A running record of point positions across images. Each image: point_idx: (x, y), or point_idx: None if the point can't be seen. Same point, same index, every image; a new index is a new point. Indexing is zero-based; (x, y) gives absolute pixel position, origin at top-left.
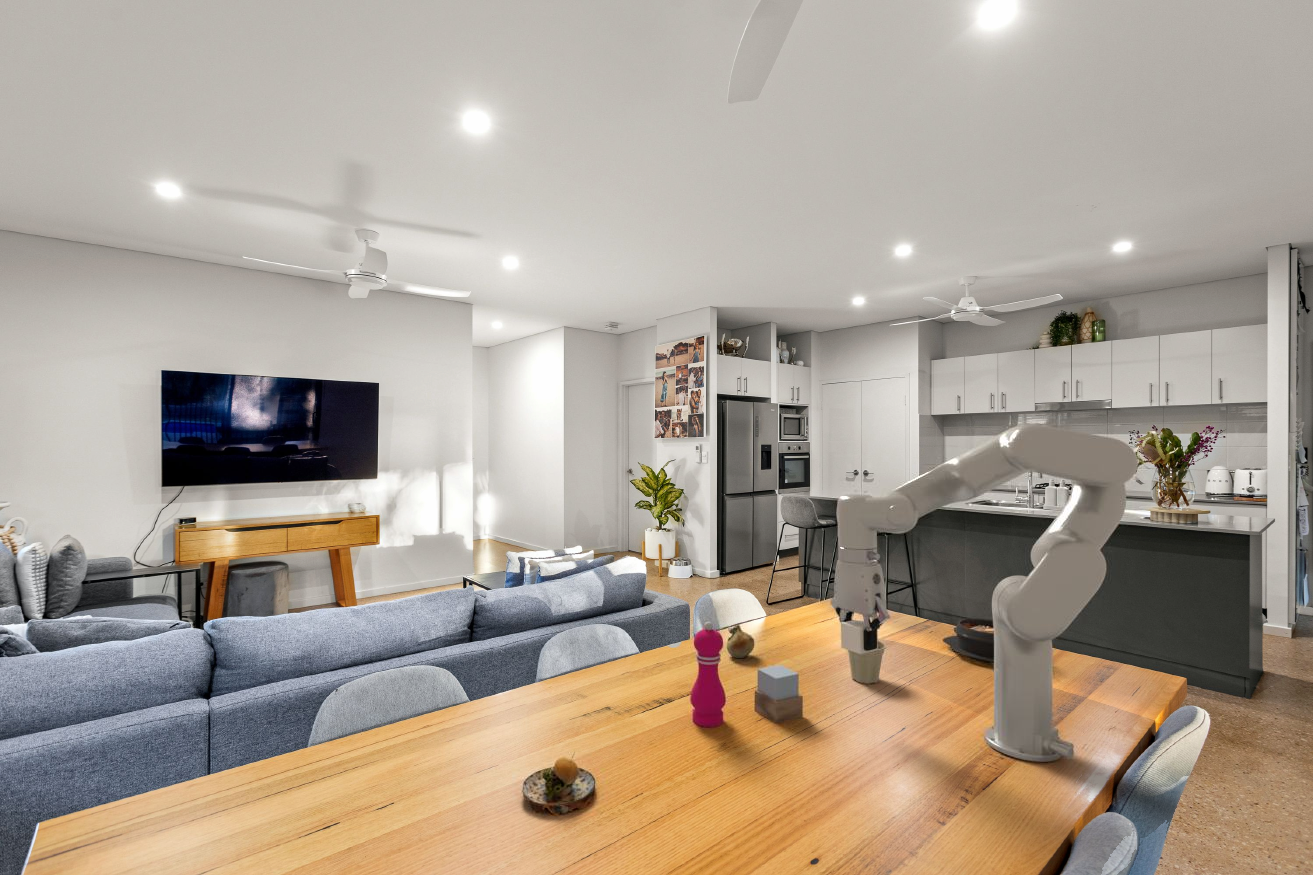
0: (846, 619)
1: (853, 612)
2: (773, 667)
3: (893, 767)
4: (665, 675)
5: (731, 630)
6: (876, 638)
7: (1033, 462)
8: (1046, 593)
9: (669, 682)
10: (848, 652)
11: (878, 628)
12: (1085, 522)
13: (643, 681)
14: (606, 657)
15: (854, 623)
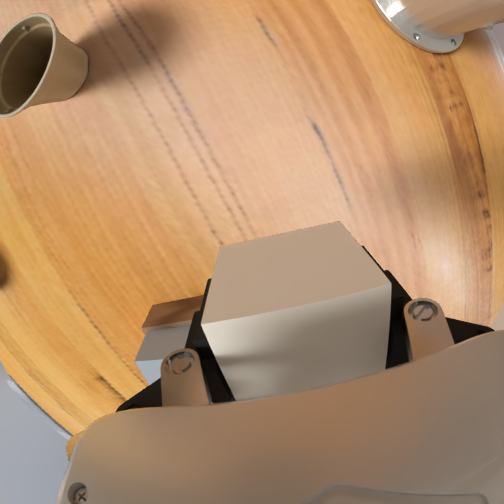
0: (221, 401)
1: (211, 403)
2: (152, 378)
3: (415, 247)
4: (62, 386)
5: None
6: (399, 287)
7: None
8: None
9: (82, 392)
10: (17, 107)
11: (431, 308)
12: None
13: (85, 409)
14: (31, 404)
15: (291, 386)
